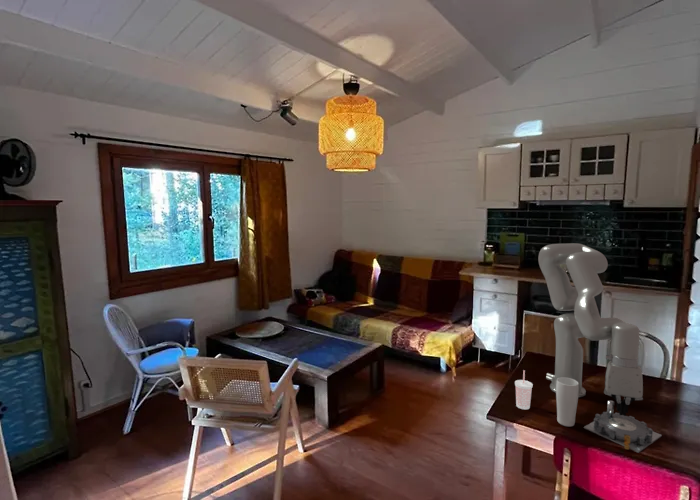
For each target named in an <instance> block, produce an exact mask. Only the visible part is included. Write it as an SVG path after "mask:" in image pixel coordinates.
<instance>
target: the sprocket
mask: <svg viewBox="0 0 700 500" xmlns="http://www.w3.org/2000/svg"><path fill="white" fill-rule="evenodd" d="M614 406H615V401H614V400H607V406H606V408H607V409H606V411H603V412H602V413H601V414H599V413H596V414H595V417H594V418H593V422H594V426H598V431H599V432H601V433H605V434H607V435H609V437H610V438H612V439H615V438H616V439H619V440H622V441H624V442H628V443H629V444H630V442H633V443H639V444H644V442H645V441H648V442H651V441H652V433H653V432H654V430H653V429H652V428H650V427H648V425H647V423H646V422H644V421H639V420H638V419H635V417H634V416H632V415H629V416H628V415H626V416H624V415H620V414H619V412H615V413H614V411H615V410H614Z"/></svg>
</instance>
